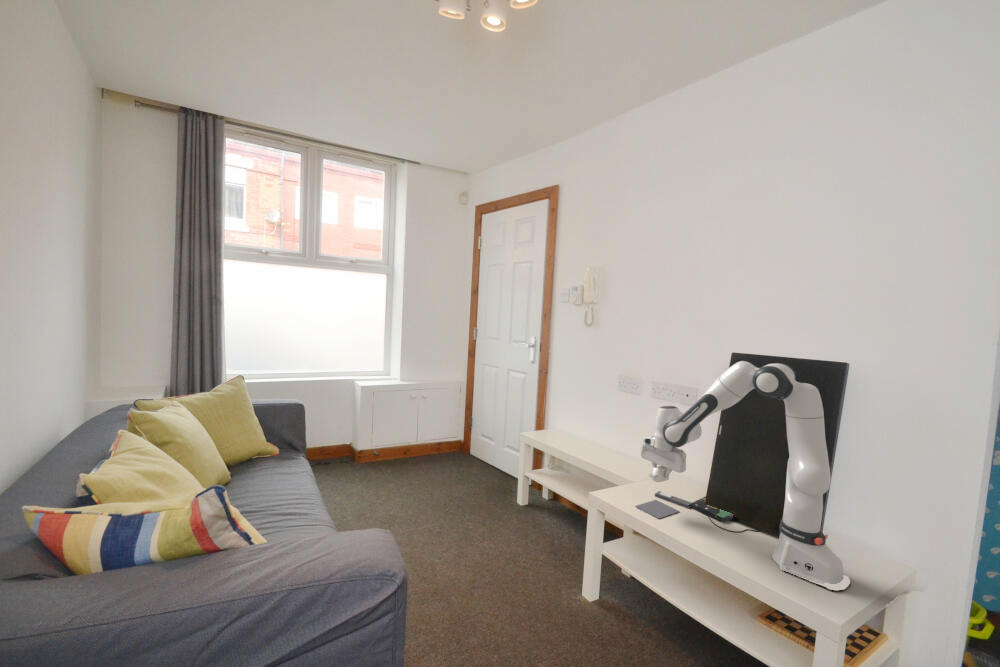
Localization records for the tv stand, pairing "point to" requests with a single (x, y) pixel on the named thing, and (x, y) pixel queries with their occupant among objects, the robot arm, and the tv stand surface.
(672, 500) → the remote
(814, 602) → the tv stand surface
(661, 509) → the mat
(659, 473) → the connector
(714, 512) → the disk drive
